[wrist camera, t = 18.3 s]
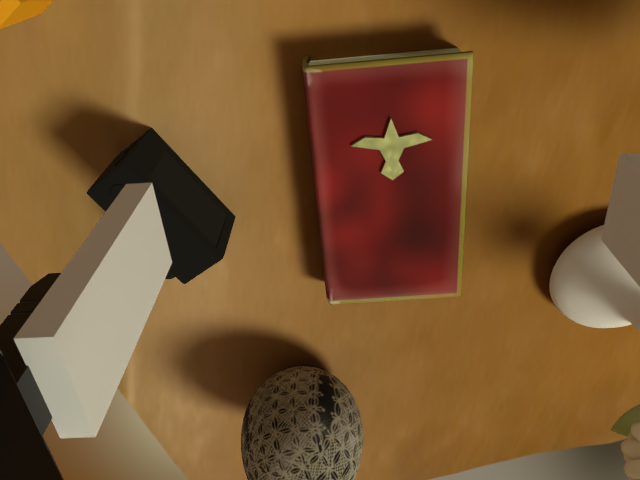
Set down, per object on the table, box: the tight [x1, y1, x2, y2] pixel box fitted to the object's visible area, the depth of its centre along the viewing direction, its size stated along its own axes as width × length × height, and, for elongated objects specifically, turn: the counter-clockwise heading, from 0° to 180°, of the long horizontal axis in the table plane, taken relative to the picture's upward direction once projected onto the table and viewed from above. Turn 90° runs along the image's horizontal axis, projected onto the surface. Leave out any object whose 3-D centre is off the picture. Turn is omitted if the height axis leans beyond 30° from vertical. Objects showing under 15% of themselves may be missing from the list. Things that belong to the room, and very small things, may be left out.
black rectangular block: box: [87, 128, 235, 284], centre depth 45 cm, size 10×5×7 cm, turn 37°
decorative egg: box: [241, 366, 363, 480], centre depth 53 cm, size 12×12×15 cm
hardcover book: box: [302, 48, 474, 304], centre depth 45 cm, size 12×21×4 cm, turn 5°
